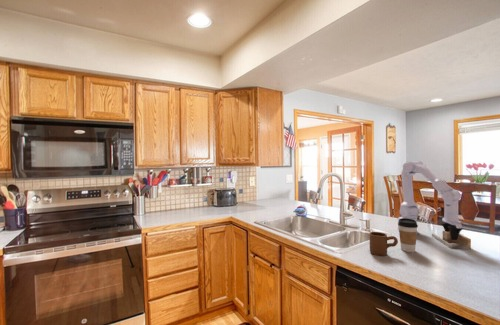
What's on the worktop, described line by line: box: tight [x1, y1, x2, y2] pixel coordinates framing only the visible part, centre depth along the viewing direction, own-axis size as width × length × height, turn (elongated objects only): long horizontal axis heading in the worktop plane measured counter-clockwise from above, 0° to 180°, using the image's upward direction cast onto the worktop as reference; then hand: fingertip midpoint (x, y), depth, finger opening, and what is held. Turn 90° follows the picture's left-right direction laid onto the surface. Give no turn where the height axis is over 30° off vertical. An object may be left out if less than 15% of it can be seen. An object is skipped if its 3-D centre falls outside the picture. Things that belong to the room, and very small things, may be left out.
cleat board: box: [431, 233, 472, 250], centre depth 130 cm, size 9×19×5 cm, turn 165°
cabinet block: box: [442, 230, 459, 244], centre depth 128 cm, size 6×4×7 cm
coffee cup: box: [397, 218, 419, 253], centre depth 120 cm, size 8×8×15 cm
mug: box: [368, 231, 399, 257], centre depth 116 cm, size 12×8×9 cm, turn 62°
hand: (451, 238), depth 128 cm, fingers closed on cabinet block, 4 cm apart
